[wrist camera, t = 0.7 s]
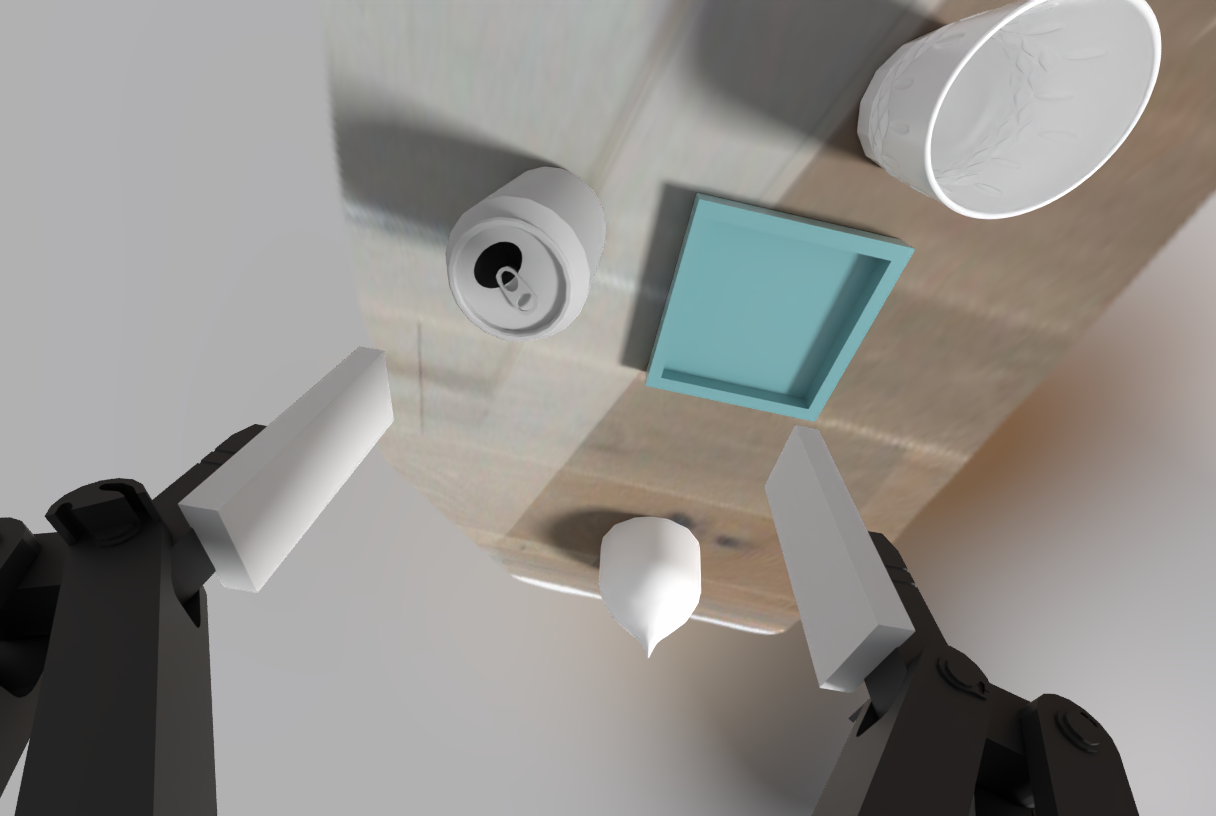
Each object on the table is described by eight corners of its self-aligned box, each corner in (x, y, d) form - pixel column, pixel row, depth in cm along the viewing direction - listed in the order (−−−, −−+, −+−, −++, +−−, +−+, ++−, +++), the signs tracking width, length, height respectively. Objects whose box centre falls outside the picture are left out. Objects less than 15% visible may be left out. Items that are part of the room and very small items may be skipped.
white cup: (853, 201, 30) (927, 246, 21) (836, 60, 26) (920, 48, 17) (995, 148, 27) (1139, 175, 19) (1002, -16, 23) (1186, -70, 15)
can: (557, 137, 29) (505, 164, 19) (629, 234, 32) (617, 300, 22) (479, 214, 32) (401, 272, 22) (551, 296, 35) (511, 378, 25)
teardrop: (648, 590, 56) (646, 698, 46) (580, 545, 52) (562, 652, 42) (721, 553, 51) (736, 665, 41) (652, 500, 47) (650, 610, 37)
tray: (696, 192, 30) (699, 199, 28) (901, 239, 31) (915, 248, 29) (646, 372, 38) (645, 385, 36) (808, 406, 39) (814, 421, 37)
